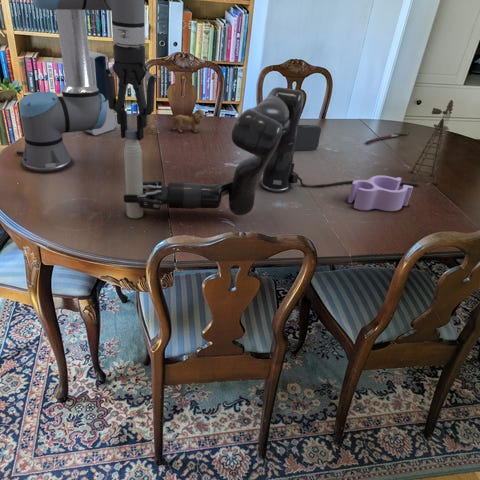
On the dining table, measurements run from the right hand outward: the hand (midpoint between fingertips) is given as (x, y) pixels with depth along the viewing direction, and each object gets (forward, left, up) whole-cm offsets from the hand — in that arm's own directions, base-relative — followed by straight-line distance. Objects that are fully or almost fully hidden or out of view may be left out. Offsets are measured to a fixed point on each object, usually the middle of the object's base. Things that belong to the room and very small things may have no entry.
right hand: (125, 194), depth 133 cm
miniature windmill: (-112, +16, -7) cm, 113 cm away
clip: (-79, +24, -7) cm, 83 cm away
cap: (-2, +1, +19) cm, 19 cm away
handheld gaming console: (-79, -24, -7) cm, 83 cm away
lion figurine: (-48, -57, -7) cm, 74 cm away
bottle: (-2, +1, -7) cm, 7 cm away
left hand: (-2, +1, +17) cm, 17 cm away
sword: (-131, -20, -7) cm, 132 cm away
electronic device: (-13, -68, -7) cm, 69 cm away
